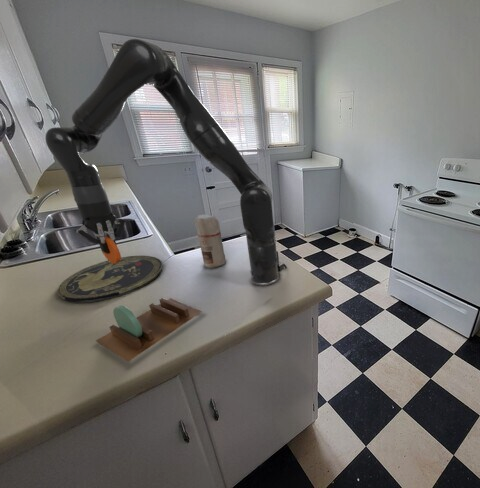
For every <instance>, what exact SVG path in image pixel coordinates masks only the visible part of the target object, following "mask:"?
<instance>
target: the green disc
mask: <svg viewBox="0 0 480 488" xmlns="http://www.w3.org/2000/svg"><path fill="white" fill-rule="evenodd" d="M112 313H113V318H114V320H115V322H116V324H117V325H118V327H120V328H121V329H122V330H124V331H126V332H128V333H129V334H131V335H133V336H135V337H137V338H139V337H141V336H142V328H141V325H140V323H139V321H138V319H137V315H135V314H134V313H133V312H132V310H130V309H129V308H128V307H127V306H126V305H123V304H122V305H121V304H120V305H118V306H116V307H115V308H114V309H113V312H112Z"/></svg>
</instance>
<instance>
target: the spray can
mask: <svg viewBox="0 0 480 488" xmlns="http://www.w3.org/2000/svg"><path fill="white" fill-rule="evenodd" d="M193 221H194V222H193V223H194V225H195V228H196V235H197V238H198V242H199V247H200V250H201V256H202V261H203V267H204V268H209V269H210V268H211V269H214V268H218V267H219V268H220V267H221V266H223V265H226V263H227V259H226V255H225V250H224V244H223V239H222V233H221V232H222V231H221V226H220V222H219V219H218V218H217V216H216V215H213V214H203V213H202V214H198V215H197V216H196V217H195V218H194V219H193Z"/></svg>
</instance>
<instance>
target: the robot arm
mask: <svg viewBox="0 0 480 488" xmlns="http://www.w3.org/2000/svg"><path fill="white" fill-rule="evenodd" d="M146 85H147V86H152V87H154V88H155V90H156V91H157V92H158V93H159V94H160V95H162V97H163V98H164V99H165V100H166V102H167V103H168V104H169V105H170V106H171V109H173V111H174V113H175V114H176V117H177V119H178V121H179V123H180V126H181V128H182V130H183V132H184V134H185V136H186V138H187V139H188V140H189V142H190V143H191V144H192V145H193V147H194V148H195V149H196V150H197V151H198V153H199V155H201V156H202V157H203V158H204V159H205V160H206V161H207V162H208V163H209V164H210V165H212V166H213V167H214V168H215V169H217V170H218V171H219V172H220V173H222V174H223V175H224V176H225V177H227V178H228V179H229V180H230V182H232V184H233V185H234V187H235V188H236V189H237V191H238V192H239V194H240V199H239V204H240V205H239V206H240V213H241V219H242V224H243V229H244V232H245V235H246V236H245V237H246V238H245V239H246V243H247V244H246V245H247V246H246V247H247V253H248V260H249V267H250V268H249V272H250V275H251V276H250V277H251V283H252V284H254V285H255V286H261V287H265V286H271V285H273V284H275V283H277V282H278V280H279V278H280V275H281V272H282V271H284V269H288V267H287V265H286V264H285V263H283V262H280V259H279V258H280V256H279V251H278V250H277V241H276V230H275V223H274V214H273V213H274V212H273V193H272V191H271V189H270V187H269V186H268V185H267V184H266V183H265V182H264V181H263V180H262V179H261V178H260V177H259V176H258V175H257V174H256V173H255V172H254V171H253V169H252V168H251V167H250V166H249V164H248V163H247V162H246V160H245V159H244V157H243V155H242V154H241V153H240V151H239V150H238V148H237V146H236V145H235V144H234V143H233V141H232V140H231V138H230V137H229V136H228V134H227V133H226V131H225V130H224V129H223V128H222V127H221V125H220V124H219V123H218V121H217V120H216V119H215V118H214V116H212V114H211V113H210V111H209V110H208V108H206V107H205V105H204V104H203V103H202V101H201V100H200V99H199V98H198V97H197V95H196V94H195V93H194V92H193V90H192V89H191V87H190V86H189V85H188V83H187V81H186V80H185V79H184V77H183V75H182V73H180V70H178V67H177V66H176V65H175V63H174V61H173V60H172V58H171V57H170V56H169V54H168V53H167V52H166V51H165V50H164V49H163V48H161V47H159V46H158V45H156V44H153V43H151V42H148V41H146V40H143V39H140V38H130V39H128V40H126V41H125V42H124V43H123V44H122V45H121V46H120V48H119V49H118V51H117V53H116V54H115V56H114V58H113V60H112V61H111V63H110V65H109V67H108V69H107V70H106V72H105V74H104V75H103V78H101V80H100V81H99V83H98V84H97V86H96V87H95V88H94V90H93V91H92V92H91V93H90V94H89V96H87V97H86V99H85V100H84V101H83V102H82V103H81V104H80V105H79V106H78V107H77V108H76V109H75V110H74V112H73V113H72V114H71V121H72V123H73V126H71V127H70V126H69V127H62V126H59V127H56V126H55V127H51V128H49V129H47V131H46V133H45V138H44V139H45V144H46V146H47V148H48V150H49V152H50V153H51V155H52V156H53V157H54V159H55V160H56V161H57V162H58V164H59V165H60V167H61V168H62V169H63V171H64V172H65V174H66V177H67V179H68V182H69V185H70V186H71V192H72V195H73V200H74V202H75V204H76V206H77V209H78V211H79V214H80V217H81V219H82V221H81V226H80V227H79V228H76V229H74V233H76V234H77V235H79V236H80V237H82V238H84V239H85V240H87V241H89V242H90V243H92V244H95V245H96V244H98V245H99V247H100V251H101V253H103V252H104V253H107V254H109V253H110V251H109V248H108V245H107V243H106V241H105V238H104V237H109V238H110V239H111V240H112V241H113V242H114V243H115V244H116V246H117V247H118V244H117V242H116V239H117V238H119V237H121V235H122V232H123V229H124V226H125V224H126V220H125V219H124V218H119V217H116V215H114V213H113V210H112V206H111V203H110V200H109V197H108V195H107V191H106V189H105V187H104V185H103V183H102V179H101V176H100V174H99V171H98V168H97V167H96V165H95V164H93V163H90V162H85V161H84V160H83V158H82V157H81V155H84V154H88V153H91V152H92V151H93V150H95V149H96V148H97V146H98V145H99V143H100V141H101V139H102V137H103V134H104V133H105V132H106V131H108V130H109V129H110V128H111V127H112V126H113V124H114V123H115V122H117V120H118V119H119V118H120V116H121V114H122V111H123V109H124V107H125V104H126V102H127V100H128V99H129V98H130V97H131V96H132V95H133V94H134V93H136V92H137V91H138V90H140V89H141V88H143V87H144V86H146ZM88 230H89V231H91V232H92V233H93V234H94V237H93V236H92V235H90V234H89V231H88Z"/></svg>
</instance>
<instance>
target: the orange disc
mask: <svg viewBox="0 0 480 488" xmlns="http://www.w3.org/2000/svg"><path fill="white" fill-rule="evenodd" d="M104 238H105V241H106V243H107V245H108V248H109V251H110V253H109V254H107V253H104V252H102V254H103V256H104V257H105V259H106V261H110V262H111V263H113V264H115V263H118V262H120V260H121V258H122V255H121V252H120V250H119V247H118V245H117V243H116V244H115V243H114V242H113V241H112V240H111V239H110V238H109V237H106V236H104ZM116 245H117V246H116Z"/></svg>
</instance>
